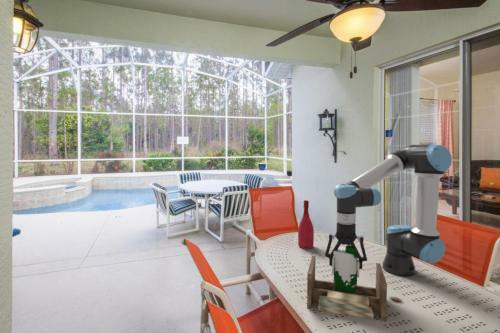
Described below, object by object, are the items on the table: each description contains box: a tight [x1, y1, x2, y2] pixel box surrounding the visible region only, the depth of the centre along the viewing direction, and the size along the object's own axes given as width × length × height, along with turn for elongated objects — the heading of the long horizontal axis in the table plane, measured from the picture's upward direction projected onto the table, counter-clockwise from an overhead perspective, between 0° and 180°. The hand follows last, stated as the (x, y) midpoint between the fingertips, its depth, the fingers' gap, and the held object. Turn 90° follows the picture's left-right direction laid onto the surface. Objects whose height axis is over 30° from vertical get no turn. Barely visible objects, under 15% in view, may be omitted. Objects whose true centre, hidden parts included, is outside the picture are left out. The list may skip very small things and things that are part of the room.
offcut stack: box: [317, 290, 374, 319], centre depth 109 cm, size 20×6×6 cm, turn 74°
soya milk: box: [333, 245, 359, 294], centre depth 118 cm, size 9×9×20 cm
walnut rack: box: [306, 255, 388, 322], centre depth 116 cm, size 28×19×14 cm, turn 72°
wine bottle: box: [297, 199, 315, 250], centre depth 179 cm, size 10×10×30 cm
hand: (345, 274), depth 118 cm, fingers closed on soya milk, 9 cm apart
